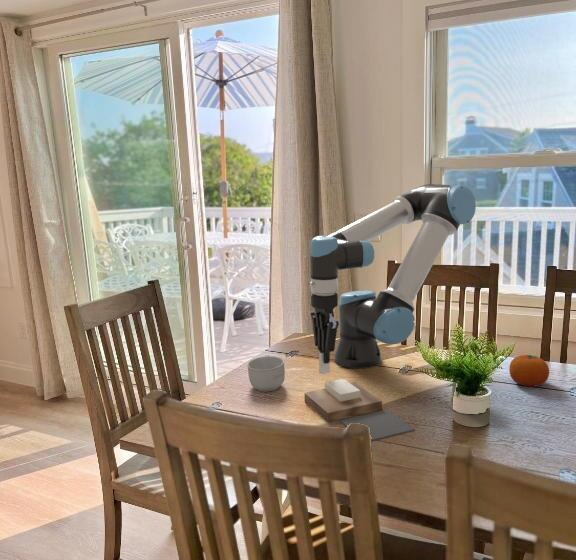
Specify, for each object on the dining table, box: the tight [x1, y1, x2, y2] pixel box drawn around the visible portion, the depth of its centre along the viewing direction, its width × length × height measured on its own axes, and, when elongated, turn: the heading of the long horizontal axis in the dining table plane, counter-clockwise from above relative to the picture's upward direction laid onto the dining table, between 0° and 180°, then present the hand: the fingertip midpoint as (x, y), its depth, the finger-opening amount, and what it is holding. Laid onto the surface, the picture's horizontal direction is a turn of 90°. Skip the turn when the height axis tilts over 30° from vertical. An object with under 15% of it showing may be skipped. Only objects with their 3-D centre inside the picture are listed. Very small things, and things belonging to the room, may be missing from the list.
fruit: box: [508, 354, 550, 387], centre depth 160 cm, size 11×10×8 cm
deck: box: [303, 382, 383, 423], centre depth 150 cm, size 16×14×2 cm
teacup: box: [246, 354, 286, 393], centre depth 164 cm, size 14×11×8 cm
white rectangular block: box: [324, 378, 360, 402], centre depth 151 cm, size 6×9×2 cm, turn 23°
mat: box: [339, 409, 416, 442], centre depth 138 cm, size 14×12×1 cm
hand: (324, 372), depth 160 cm, fingers closed
